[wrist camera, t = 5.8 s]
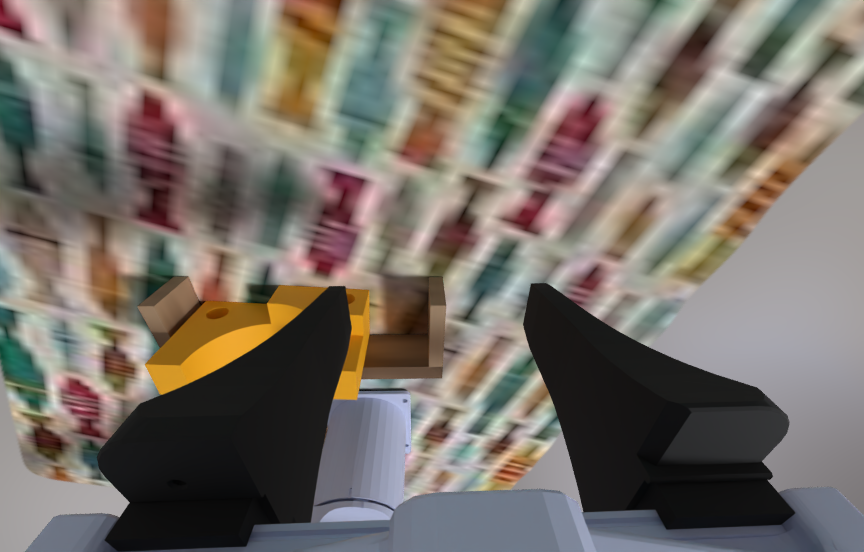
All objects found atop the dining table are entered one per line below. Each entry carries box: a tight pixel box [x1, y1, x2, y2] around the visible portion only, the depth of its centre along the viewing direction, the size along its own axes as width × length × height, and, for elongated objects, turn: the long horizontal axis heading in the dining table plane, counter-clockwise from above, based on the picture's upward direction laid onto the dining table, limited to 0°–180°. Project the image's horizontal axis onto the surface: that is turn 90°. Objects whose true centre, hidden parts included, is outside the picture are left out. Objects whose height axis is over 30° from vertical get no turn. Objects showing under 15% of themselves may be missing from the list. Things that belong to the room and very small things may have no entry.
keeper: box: [137, 277, 446, 379], centre depth 24 cm, size 7×19×4 cm, turn 89°
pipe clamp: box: [145, 285, 370, 400], centre depth 22 cm, size 12×4×6 cm, turn 85°
